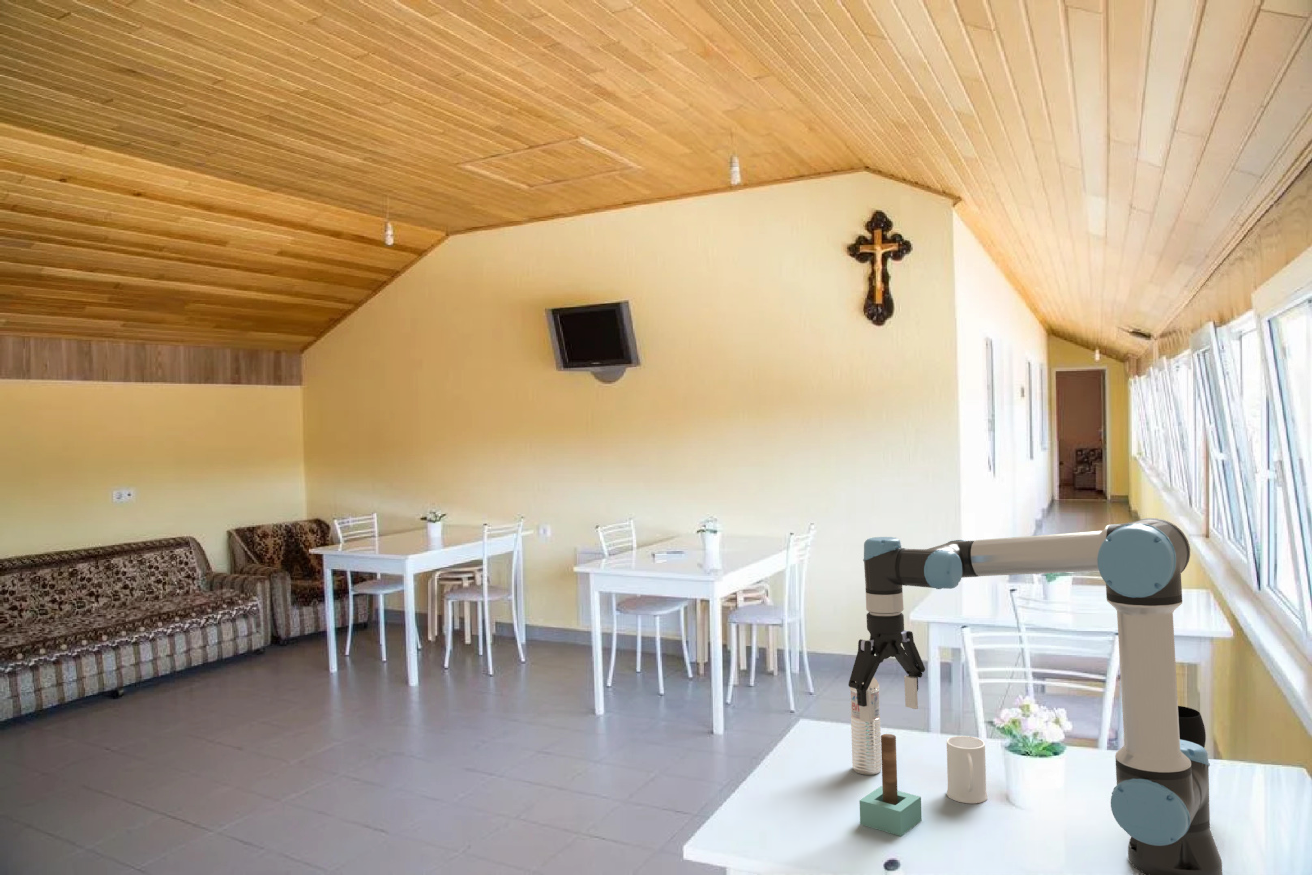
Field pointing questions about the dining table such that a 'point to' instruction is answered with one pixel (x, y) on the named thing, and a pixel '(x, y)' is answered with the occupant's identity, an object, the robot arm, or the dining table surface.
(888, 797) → the dowel
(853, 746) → the water bottle
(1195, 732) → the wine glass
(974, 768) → the mug
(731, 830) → the dining table surface
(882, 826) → the block with square hole
